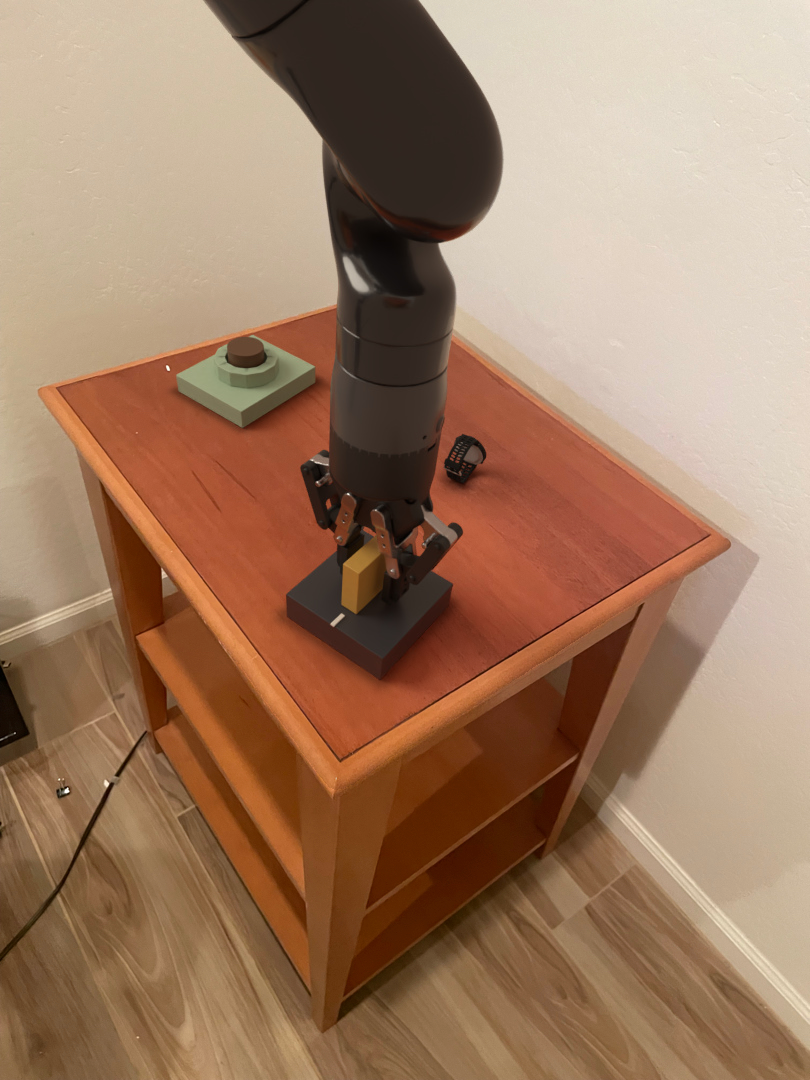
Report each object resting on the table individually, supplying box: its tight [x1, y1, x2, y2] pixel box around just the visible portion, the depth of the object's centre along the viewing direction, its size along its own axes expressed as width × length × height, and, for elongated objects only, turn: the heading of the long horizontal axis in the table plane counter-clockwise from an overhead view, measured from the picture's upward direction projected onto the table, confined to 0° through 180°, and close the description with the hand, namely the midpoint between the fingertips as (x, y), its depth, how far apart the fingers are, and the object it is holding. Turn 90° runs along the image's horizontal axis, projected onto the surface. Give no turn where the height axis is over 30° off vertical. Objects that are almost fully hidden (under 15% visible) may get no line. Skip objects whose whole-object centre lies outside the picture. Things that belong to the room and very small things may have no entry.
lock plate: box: [285, 529, 454, 681], centre depth 62 cm, size 10×10×3 cm
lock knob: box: [341, 534, 387, 614], centre depth 59 cm, size 6×2×5 cm, turn 144°
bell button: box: [226, 336, 265, 369], centre depth 81 cm, size 4×4×2 cm
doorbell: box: [175, 334, 316, 429], centre depth 83 cm, size 12×10×4 cm
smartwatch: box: [443, 433, 487, 485], centre depth 75 cm, size 4×5×5 cm
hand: (371, 583), depth 61 cm, fingers open, 3 cm apart
